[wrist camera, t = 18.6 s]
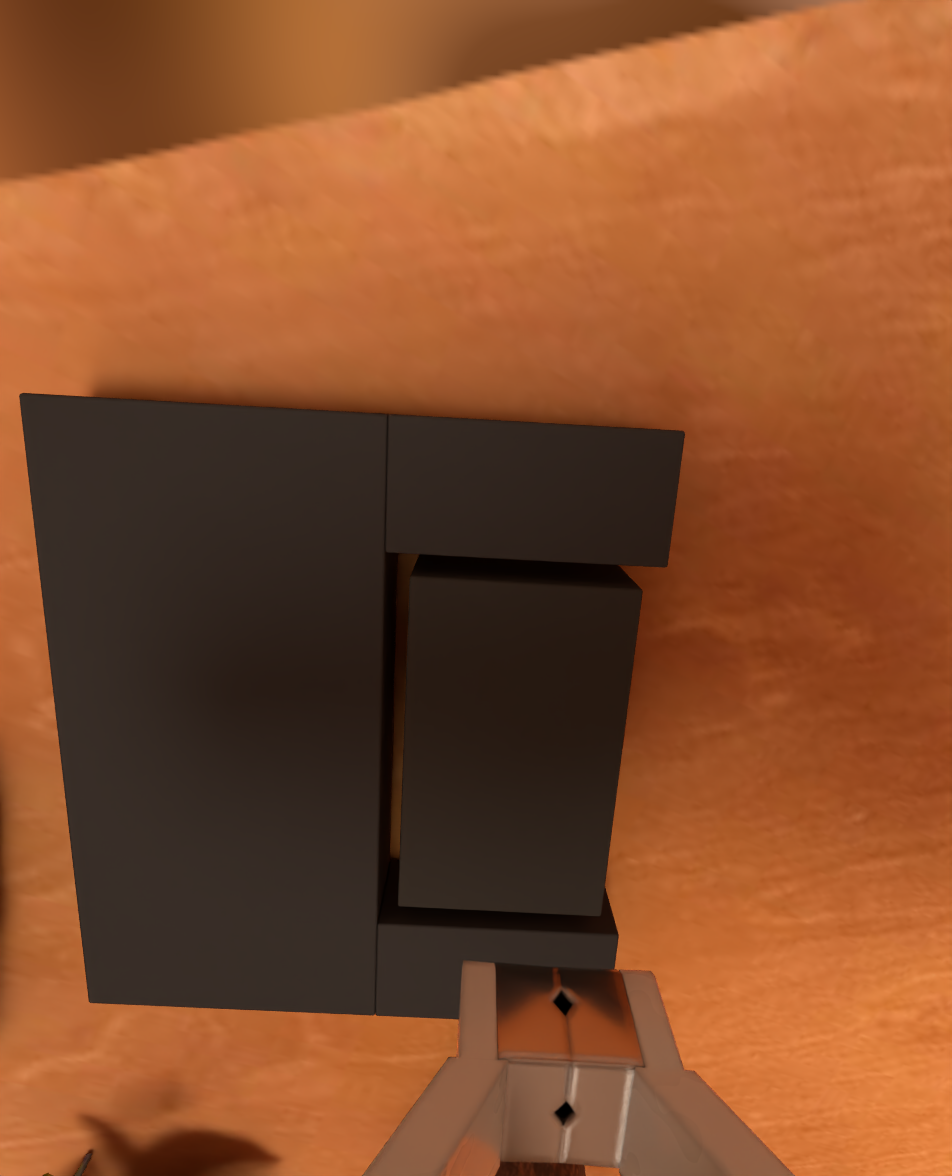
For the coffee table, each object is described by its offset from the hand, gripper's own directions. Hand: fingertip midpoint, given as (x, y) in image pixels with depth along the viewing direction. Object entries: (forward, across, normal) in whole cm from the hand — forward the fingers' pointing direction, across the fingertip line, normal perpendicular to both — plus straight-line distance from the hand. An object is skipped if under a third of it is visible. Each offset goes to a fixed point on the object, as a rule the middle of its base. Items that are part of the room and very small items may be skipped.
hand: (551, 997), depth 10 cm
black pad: (+11, 0, 0) cm, 11 cm away
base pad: (+11, +5, 0) cm, 12 cm away
